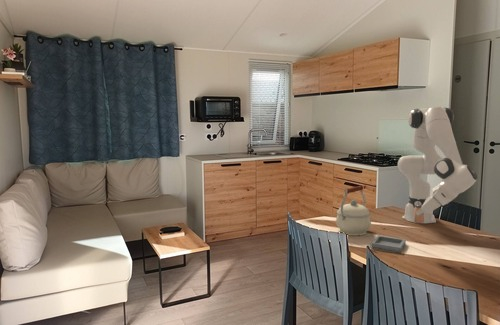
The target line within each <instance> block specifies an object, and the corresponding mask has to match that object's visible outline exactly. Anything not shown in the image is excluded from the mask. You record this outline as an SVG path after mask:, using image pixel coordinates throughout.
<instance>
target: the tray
mask: <svg viewBox="0 0 500 325" xmlns="http://www.w3.org/2000/svg"><path fill="white" fill-rule="evenodd" d="M406 241H407V240H406V239H404V238H397V237H391V236H384V235H379V234H378V235H377V236H376V237H375V238H374V239H373V240H372V242H371V249H376V250H379V251H380V250H381V251H387V252H393V253H397V254H401V253H402V251H403V250H404V248H405V247H406V245H407V244H406Z"/></svg>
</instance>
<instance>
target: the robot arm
mask: <svg viewBox="0 0 500 325" xmlns="http://www.w3.org/2000/svg"><path fill="white" fill-rule="evenodd" d="M408 114H409V115H408V117H407V121H408V125H409V126H410V127H411V128H412V129H414V132H413V141H412V142H413V143H412V146H413V149H415V150H416V151H418V152H420V153H421V154H423V155H413V154H412V155H411V154H409V155H405V156H401V157H400V158H399V159H398V161H397V168H398V170H399V172H400V173H402V174H403V175H404V176H405V177H406V178H407V181H408V184H409V195H408V198H407V199H408V203H407V204H405V210H404V215H402V216H401V219H403V220H405V221H408V222H411V223H415V224H417V223H416V222H414V216H415V205H416V204H421V205H422V207H421V209H420V210H418V211H417V212H416V214H417V215H420V214H422V213H424V223H423V224H432V223H433V224H434V223H437V219H436V218H435V215H434V213H433V212H434V211H435V210H436V209H438V208H439V207H441V206H443V207H444V206H445V205H448V204H449V203H450V202H452V201H453V200H455V199H457V197H458V196H459V194H462V193H464V192H465V191H467V190H468V189H470V188H471V187H472V186H474V184H475V183H476V182H477V180H478V175H477V172H476V171H475V170H474V169H473V168H472V167H471V166H470V165H468V164H464V162H463V159H462V156H461V153H460V150H459V148H458V145H457V142H456V139H455V136H454V132H453V129H452V128H453V127H452V125H453V122H454V120H455V118H454V117H455V115H454V111H453V110H452V109H451V108H448V107H441V106H431V107H425V108H414V109H412V110H410V112H409V113H408ZM435 146H436V147H437V148H438V149H439V150H440V151H441V152H442V153H443V155H444V156H445V157H442V156H440V154H438V153H437V150H436V147H435ZM420 175H436V176H437V177H439V178H440V179H441V180H442V181H441V182H439V183H438V184H437V185H436V186H434V187H433V188H432V189H431V184H430V183H429V182H428V181H427V180H425V179H423V178H421V177H420Z"/></svg>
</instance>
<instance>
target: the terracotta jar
mask: <svg viewBox="0 0 500 325" xmlns="http://www.w3.org/2000/svg"><path fill="white" fill-rule="evenodd" d="M421 207H422V205H421V204H416V205H415V216H414V222H416V223H415V224H425V223H424V213H422V214H420V215H417V214H416V212H417V211H418V210H420V209H421ZM414 222H413V223H414Z"/></svg>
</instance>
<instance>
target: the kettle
mask: <svg viewBox="0 0 500 325" xmlns="http://www.w3.org/2000/svg"><path fill="white" fill-rule="evenodd" d="M363 190H364V185H358V186H352V187H350V188H349V187H348V188H345V189H344V197H343V200H342V202H341V204H340V207H339V208H338V209H337V210H336V214H337V216H336V219H335V224H336V226H337V227H338V229H339V232H340V233H341V232H344V233H347V234H348V235H347V236H352V235H354V236H356V237H358V235H360V236H364V235H366V234H367V231H369V229H370V228H371V225H372V220H371V217H370V216H371V212H370V211H369V207H366V205H367V204H366V203H367V199H366V196H365V195H364V192H363ZM359 191H360V192H359ZM355 192H359V193H360V195H361V197H362V198H363V203H362V204H359V203H358V201H357V200H356V199H352V200H351V201H349V202H350V203H346V204H345V202H346V201H347V198H348V195H349V194H352V193H355Z"/></svg>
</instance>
